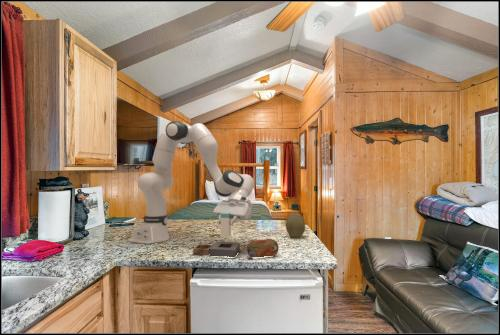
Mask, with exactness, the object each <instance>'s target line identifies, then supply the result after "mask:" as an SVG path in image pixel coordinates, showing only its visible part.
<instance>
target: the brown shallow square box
mask: <svg viewBox="0 0 500 335" xmlns="http://www.w3.org/2000/svg"><path fill="white" fill-rule="evenodd" d="M213 245H214V244H207V243H205V244H204V243H203V244H202V243H201V244H200V243H199V244H197V245H196V246H195V247H193V248H192V255H193V256H200V255H209V254H210V248H211V247H212V246H213ZM209 256H210V255H209Z"/></svg>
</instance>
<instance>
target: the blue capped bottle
mask: <svg viewBox="0 0 500 335" xmlns="http://www.w3.org/2000/svg"><path fill="white" fill-rule="evenodd" d="M220 215H221V224H220V237H221V238H230V237H231V236H232V226H231V225H229V221H231V219H232V218H231V215H230V213H228V212H222V213H221V214H220Z"/></svg>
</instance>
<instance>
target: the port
mask: <svg viewBox="0 0 500 335" xmlns="http://www.w3.org/2000/svg"><path fill="white" fill-rule="evenodd" d="M212 245H213V246H212V247H211V248H210V255H209V257H210V256H227V257H228V256H229V257H235V256H236V255H237V253H238V252H239V250H240V251H241V242H236V241H235V242H233V241H231V242H230V241H216V242H215V243H214V244H212ZM239 253H240V252H239ZM237 256H238V255H237Z"/></svg>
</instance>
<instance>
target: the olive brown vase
mask: <svg viewBox="0 0 500 335" xmlns="http://www.w3.org/2000/svg"><path fill="white" fill-rule="evenodd" d="M285 229H286V232H287V234H288V235H289V236H290V237H292V238H295V239H297V238H298V239H299V238H300V237H302V236H303V234H304V233H305V230H306V223H305V219H304V217H303V216H302V214H301V213H299V212H297V211H296V212H291V213H290V214H289V215H288V216H287V218H286V221H285Z"/></svg>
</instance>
